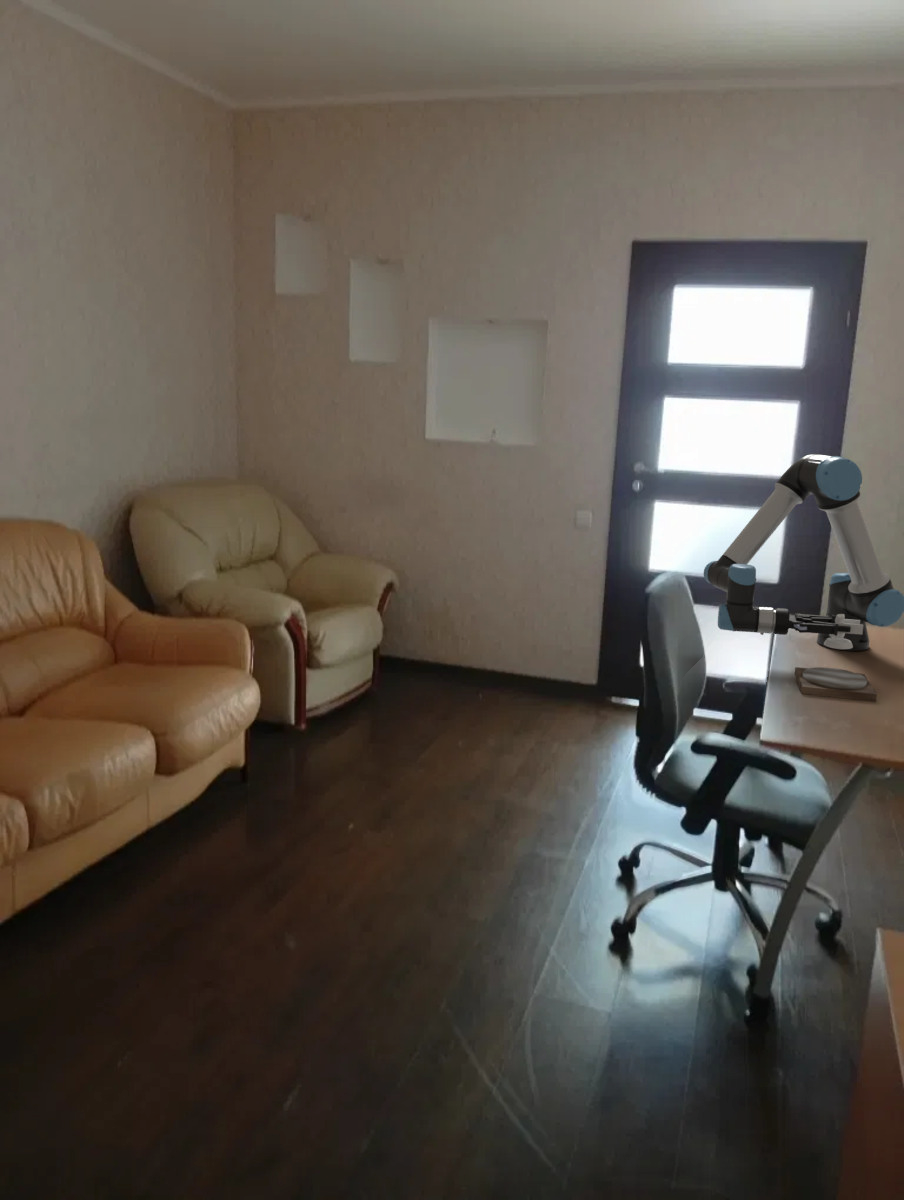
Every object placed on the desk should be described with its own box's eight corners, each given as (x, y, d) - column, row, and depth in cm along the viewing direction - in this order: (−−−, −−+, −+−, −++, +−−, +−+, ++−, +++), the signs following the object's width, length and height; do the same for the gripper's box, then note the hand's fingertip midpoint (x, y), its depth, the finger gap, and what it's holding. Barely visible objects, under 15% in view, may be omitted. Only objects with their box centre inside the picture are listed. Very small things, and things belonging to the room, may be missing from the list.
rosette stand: (794, 673, 253) (795, 663, 253) (863, 680, 249) (864, 670, 248) (801, 693, 236) (802, 682, 236) (875, 701, 232) (877, 690, 231)
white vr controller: (829, 634, 249) (822, 615, 253) (827, 661, 257) (820, 642, 262) (858, 629, 247) (850, 611, 252) (854, 657, 256) (847, 638, 261)
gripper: (770, 626, 268) (854, 632, 263) (774, 641, 252) (865, 648, 246) (772, 601, 267) (857, 607, 261) (777, 615, 250) (868, 621, 244)
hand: (860, 627), depth 253 cm, fingers closed on white vr controller, 4 cm apart
